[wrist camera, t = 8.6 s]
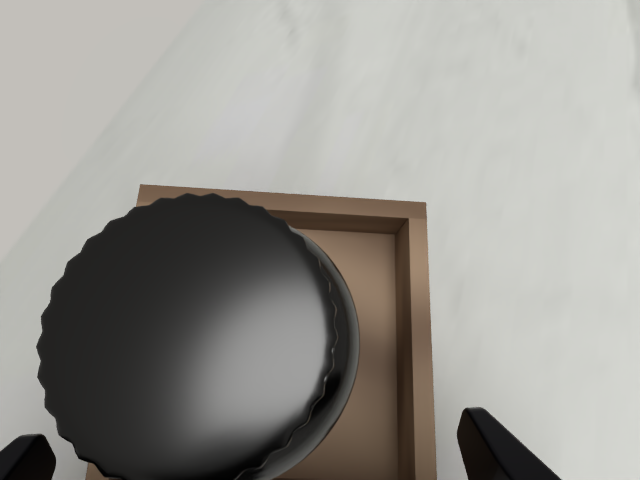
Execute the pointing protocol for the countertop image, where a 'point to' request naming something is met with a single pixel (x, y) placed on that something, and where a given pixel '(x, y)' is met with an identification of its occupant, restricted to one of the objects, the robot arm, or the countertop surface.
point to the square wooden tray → (365, 331)
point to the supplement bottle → (198, 344)
